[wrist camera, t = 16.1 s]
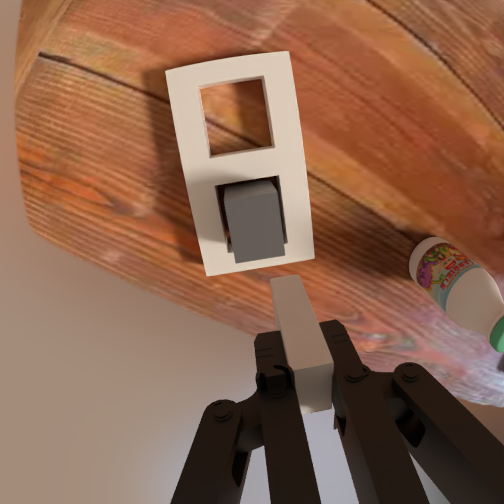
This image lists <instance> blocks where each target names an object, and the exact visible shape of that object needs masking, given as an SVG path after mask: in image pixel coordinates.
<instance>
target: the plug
mask: <svg viewBox="0 0 504 504" xmlns="http://www.w3.org/2000/svg"><path fill="white" fill-rule="evenodd" d="M224 204H225V210H226V215H227V220H228V226H229V231H230V236H231V242H232V247H233V252H234V258H235V263H236V264H237V263H243V262H249V261H255V260H261V259H268V258H274V257H280V256H285V248H284V240H283V232H282V224H281V216H280V208H279V201H278V193H277V191H276V189H275V187H274V186H273V184H272V183H271V181H270V180H264V181H257V182H251V183H245V184H239V185H233V186H227V187H225V195H224Z"/></svg>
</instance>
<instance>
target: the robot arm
mask: <svg viewBox="0 0 504 504" xmlns="http://www.w3.org/2000/svg"><path fill="white" fill-rule="evenodd" d="M270 283H271V291H272V299H273V307H274V314H275V322H276V327H277V331H272V332H266V333H260V334H258V335H257V337H256V339H255V341H254V347H255V356H256V366H257V373H256V384H257V390H256V392H255V393H254V394H253V395H252V396H251V397H249V398H248V399H246V400H243V401H241V402H238V403H235V402H234V401H231V400H227V399H226V400H218V401H215V402H213V403H211V404H210V405H209V406H207V408H206V409H205V411H204V413H203V416H202V418H201V421H200V424H199V427H198V429H197V432H196V435H195V438H194V441H193V443H192V446H191V449H190V452H189V454H188V457H187V460H186V462H185V465H184V468H183V471H182V473H181V476H180V479H179V481H178V484H177V487H176V490H175V492H174V495H173V498H172V500H171V503H170V504H240V499H241V496H242V491H243V487H244V483H245V479H246V475H247V470H248V466H249V462H250V457H251V452H252V450H254V449H256V448H259V447H261V446H263V445H264V447H265V457H266V465H267V474H268V483H269V491H270V500H271V504H321V500H320V495H319V491H318V487H317V482H316V477H315V472H314V468H313V463H312V459H311V454H310V450H309V446H308V441H307V436H306V432H305V427H304V423H303V418H302V415H303V414H308V413H313V412H318V411H323V410H328V409H331V408H332V403H333V406H334V409H335V415H334V429H336V428H337V429H338V432H339V435H340V439H341V442H342V445H343V449H344V452H345V455H346V459H347V462H348V466H349V469H350V473H351V476H352V480H353V483H354V486H355V490H356V494H357V497H358V501H359V504H430V503H429V501H428V498H427V496H426V493H425V490H424V488H423V486H422V483H421V481H420V478H419V476H418V474H417V471H416V469H415V466H414V464H413V461H412V459H411V457H410V454H411V455H412V456H413V458H414V459H415V460H416V461H417V462H418V464H419V465H420V466H421V468H422V469H423V470H424V471H425V472H426V474H427V475H428V476H429V477H430V479H431V480H432V481H433V482H434V484H435V485H436V486H437V487H438V489H439V490H440V491H441V492H442V493H443V495H444V496H445V497H446V498H447V500H448V501H449V502H450V503H451V504H504V446H503V444H502V443H501V442H500V441H499V440H498V439H497V438H496V437H495V436H493V434H491V433H490V431H489V430H488V429H486V427H484V426H483V424H481V422H480V421H478V420H477V418H475V417H474V416H473V415H472V414H471V413H470V412H469V411H468V410H467V409H466V408H465V407H464V406H463V405H462V404H461V403H460V402H459V401H458V400H457V399H456V398H455V397H454V396H453V395H452V394H451V393H450V392H449V391H448V390H447V389H446V388H445V387H444V386H442V385H441V384H440V383H439V382H438V381H437V380H436V379H435V378H434V377H433V376H432V375H431V374H430V373H429V372H428V371H427V370H426V369H425V368H423V367H422V366H421V365H419V364H416V363H413V362H406V363H403V364H400V365H399V366H397V367H396V368H395V370H394V372H375V371H371V370H370V369H369V367H367V366H366V365H364V364H362V362H361V360H360V358H359V356H358V354H357V352H356V350H355V347H354V345H353V343H352V341H351V340H350V337H349V335H348V334H347V331H346V329H345V327H344V325H343V324H341V323H340V322H339V321H337V320H330V321H325V322H320V323H318V320H317V318H316V315H315V313H314V310H313V308H312V305H311V303H310V300H309V298H308V295H307V293H306V290H305V288H304V285H303V283H302V281H301V278H300V276H299V274H297V275H290V276H284V277H278V278H272V279H270ZM408 451H409V452H408ZM409 453H410V454H409Z"/></svg>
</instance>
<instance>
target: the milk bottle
mask: <svg viewBox="0 0 504 504" xmlns="http://www.w3.org/2000/svg"><path fill="white" fill-rule="evenodd" d="M409 272H410V275H411V277H412V279H413V280H414V281H415V282H416V283H417V284H418V285H419V286H420V287H421V289H422V290H423V291H424V292H425V293H426V294H427V295H428V296H429V297H430V298H431V299H432V300H433V301H434V302H435V303H436V304H437V305H438V306H439V307H440V308H441V310H442V311H443V312H444V313H445V314H446V315H447V316H448V317H449V318H450V319H451V320H452V321H454V322H455V323H456V324H458V325H459V326H461V327H463V328H466V329H469V330H473V331H476V332H479V333H481V334H483V335H485V336H486V337H487V341H488V342H489V343H490V344H491V346H492V347H493V348H494V349H495V350H496V351H497V352H504V301H503V299H502V297H501V294H500V291H499V289H498V286H497V284H496V283H495V281H494V280H493V278H492V277H491V276H490V275H489V274H488V273H487V272H486V271H485V270H484V269H483V268H482V267H481V266H479V265H478V264H477V263H475V262H474V261H473V260H472V259H470V258H469V257H468V256H466V255H465V254H464V253H462V252H461V251H459V250H458V249H457V248H455V247H454V246H452V245H451V244H449V243H448V242H447V241H445V240H443V239H442V238H439V237H430V238H427V239H425V240H423V241H422V242H420V243H419V244H418V245H417V246H416V247H415V249H414V250H413V252H412V254H411V257H410V260H409Z"/></svg>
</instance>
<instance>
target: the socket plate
mask: <svg viewBox="0 0 504 504" xmlns="http://www.w3.org/2000/svg"><path fill="white" fill-rule="evenodd" d="M165 73H166V79H167V86H168V92H169V97H170V103H171V109H172V115H173V120H174V126H175V131H176V136H177V142H178V147H179V152H180V157H181V162H182V167H183V172H184V177H185V182H186V187H187V191H188V196H189V201H190V205H191V210H192V215H193V219H194V224H195V228H196V233H197V237H198V241H199V246H200V250H201V254H202V258H203V263H204V267H205V271H206V275H207V276H213V275H219V274H225V273H231V272H237V271H244V270H250V269H256V268H262V267H268V266H274V265H280V264H286V263H292V262H298V261H303V260H309V259H315V257H314V244H313V232H312V221H311V211H310V201H309V191H308V182H307V173H306V165H305V157H304V149H303V141H302V133H301V126H300V119H299V112H298V105H297V99H296V92H295V86H294V80H293V74H292V68H291V62H290V56H289V51H282V52H271V53H262V54H253V55H246V56H238V57H232V58H225V59H219V60H214V61H208V62H203V63H198V64H193V65H188V66H183V67H179V68H175V69H170V70H166V71H165ZM258 79H261V80H262V86H263V92H264V98H265V104H266V110H267V117H268V123H269V130H270V136H271V143H272V146H267V147H260V148H254V149H247V150H241V151H235V152H229V153H223V154H218V155H212V156H211V151H210V145H209V140H208V134H207V129H206V123H205V117H204V112H203V106H202V100H201V94H200V89H202V88H207V87H213V86H218V85H224V84H230V83H237V82H243V81H250V80H258ZM270 176H276V178H277V185H278V192H279V200H280V207H281V215H282V223H283V231H284V234H283V240H284V248H285V256H280V257H274V258H268V259H261V260H255V261H249V262H243V263H237V264H236V263H235V258H234V252H233V247H232V243H229V244H228V241H227V236H226V231H225V226H224V221H223V215H222V210H221V205H220V200H219V194H218V189H217V185H221V184H227V183H233V182H239V181H245V180H251V179H257V178H263V177H270Z"/></svg>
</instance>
